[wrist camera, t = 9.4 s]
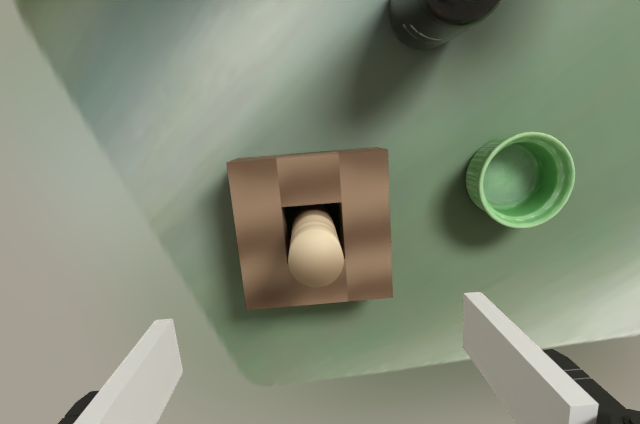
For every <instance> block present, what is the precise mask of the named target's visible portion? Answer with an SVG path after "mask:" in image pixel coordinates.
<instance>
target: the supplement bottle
mask: <svg viewBox="0 0 640 424" xmlns="http://www.w3.org/2000/svg"><path fill="white" fill-rule="evenodd" d="M501 1H502V0H391V3H390V20H391V24H392V27H393V30H394V32H395V33H396V35H397V36H398V38H399V39H400V40H401V41H402V42H403V43H405V44H406V45H408V46H410V47H412V48H415V49H419V50H428V49H433V48H436V47H438V46H440V45H442V44H444V43H446V42H448V41H449V40H451V39H453V38H454V37H456V36H458V35H459V34H461V33H463V32H464V31H466V30H468V29H469V28H471V27H472V26H474V25H476V24H477V23H479V22H481V21H482V20H484V19H485V18H486V17H488V16H489V15H490V14H491V13H492V12H493V11H494V10H495V9H496V8H497V7H498V5H499V4H500V3H501Z"/></svg>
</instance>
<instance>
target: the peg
mask: <svg viewBox="0 0 640 424" xmlns="http://www.w3.org/2000/svg"><path fill="white" fill-rule="evenodd" d="M288 265H289V269H290V272H291V274H292V275H293V277H294V278H295V279H296V280H297V281H298V282H300V283H301V284H303V285H305V286H309V287H323V286H326V285H328V284H330V283H332V282H333V281H335V280H336V279H337V278H338V276H339V275H340V273H341V272H342V269H343V266H344V256H343V252H342V249H341V246H340V242H339V239H338V236H337V233H336V229H335V226H334V223H333V220H332V217H331V214H330V211H329V210H328V209H327V207H326V206H324V205H323V204H314V205H302V206H300V207H299V208H298V209H297V211H296V212H295V215H294V220H293V227H292V235H291V242H290V250H289V257H288Z"/></svg>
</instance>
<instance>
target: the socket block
mask: <svg viewBox="0 0 640 424" xmlns="http://www.w3.org/2000/svg"><path fill="white" fill-rule="evenodd" d="M226 164H227V171H228V178H229V186H230V193H231V200H232V207H233V215H234V222H235V229H236V237H237V244H238V251H239V259H240V266H241V273H242V281H243V288H244V295H245V303H246V310H257V309H268V308H279V307H291V306H302V305H314V304H325V303H336V302H348V301H359V300H370V299H382V298H393V288H392V258H391V229H390V199H389V169H388V150H387V149H383V148H378V147H373V148H360V149H348V150H335V151H323V152H311V153H298V154H286V155H273V156H261V157H248V158H237V159H235V160H232V161H229V162H227V163H226ZM326 203H338V214H339V229H340V246H341V249H342V252H343V256H344V266H343V269H342V272H341V273H340V275H339V276H338V278H337V279H336V280H335V281H333V282H332V283H330V284H328V285H326V286H323V287H309V286H305V285H303V284H301V283H300V282H298V281H297V280H296V279H295V278H294V277H293V275H292V274H291V272H290V269H289V265H288V257H289V250H290V243H289V233H288V223H287V214H286V207H289V206H302V205H314V204H326Z"/></svg>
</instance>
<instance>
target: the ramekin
mask: <svg viewBox="0 0 640 424" xmlns="http://www.w3.org/2000/svg"><path fill="white" fill-rule="evenodd" d="M574 180H575V167H574V163H573V159H572V157H571V155H570V153H569V151H568V149H567V148H566V147H565V146H564V145H563V144H562V143H561V142H560V141H559V140H557V139H556V138H554V137H553V136H550V135H548V134H545V133H540V132H525V133H520V134H516V135H513V136H507V137H501V138H497V139H495V140H492V141H490V142H488V143H487V144H485V145H484V146H483V147H481V148H480V149H479V150H478V151H477V152H476V154H475V155H474V156H473V158H472V159H471V161H470V163H469V166H468V169H467V173H466V187H467V191H468V193H469V196H470V198H471V200H472V201H473V202H474V203H475V204H476V205H477V206H478V207H479V208H480V209H482V210H483V211H485V212H486V213H487V214H488V215H489V216H490V217H491V218H492V219H493V220H495V221H496V222H498V223H500V224H502V225H504V226H507V227H512V228H530V227H534V226H537V225H540V224H542V223H544V222H546V221H548V220H549V219H551V218H552V217H553V216H555V215H556V214H557V213H558V212H559V211H560V210H561V209H562V207H563V206H564V205H565V203H566V202H567V200H568V199H569V196H570V194H571V192H572V189H573V185H574Z"/></svg>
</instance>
